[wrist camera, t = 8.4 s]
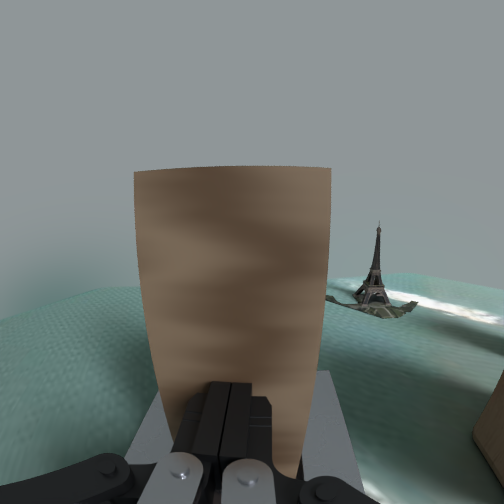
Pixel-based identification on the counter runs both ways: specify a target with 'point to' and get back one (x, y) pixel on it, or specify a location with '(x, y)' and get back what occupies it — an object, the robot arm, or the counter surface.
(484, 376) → the counter surface
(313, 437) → the chute
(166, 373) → the block
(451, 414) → the counter surface
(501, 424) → the wooden block
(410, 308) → the eiffel tower figurine
